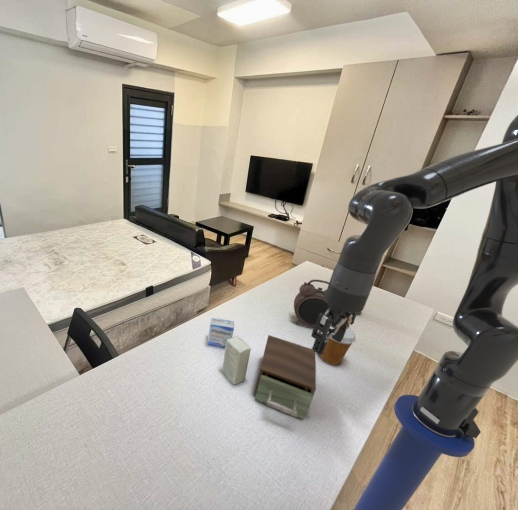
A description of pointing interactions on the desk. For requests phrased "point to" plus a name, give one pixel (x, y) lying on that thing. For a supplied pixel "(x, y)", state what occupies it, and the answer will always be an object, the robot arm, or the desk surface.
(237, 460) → the desk surface
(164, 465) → the desk surface
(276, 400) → the drawer
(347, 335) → the disposable coffee cup
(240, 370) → the cosmetic box
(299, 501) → the desk surface
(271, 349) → the cabinet
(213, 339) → the medicine box
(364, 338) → the desk surface
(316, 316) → the alarm clock
